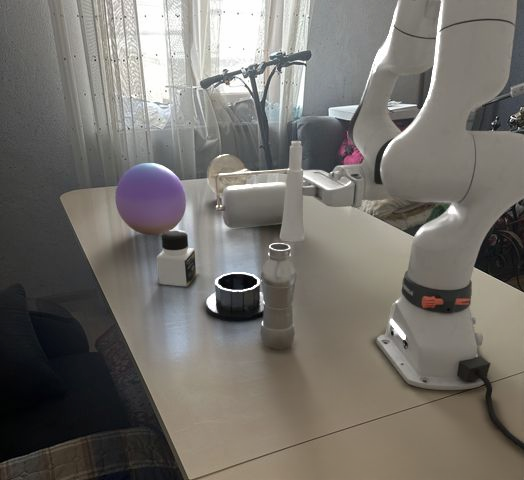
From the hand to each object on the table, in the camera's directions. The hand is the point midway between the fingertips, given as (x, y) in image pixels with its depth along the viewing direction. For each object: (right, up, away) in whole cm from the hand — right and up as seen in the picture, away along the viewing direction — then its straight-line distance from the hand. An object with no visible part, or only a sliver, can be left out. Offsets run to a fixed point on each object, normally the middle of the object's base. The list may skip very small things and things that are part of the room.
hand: (291, 189), depth 119 cm
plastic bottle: (-4, -36, -18) cm, 41 cm away
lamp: (-13, +9, +53) cm, 56 cm away
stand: (-12, -28, -5) cm, 30 cm away
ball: (-39, -3, +34) cm, 52 cm away
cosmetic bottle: (0, -10, +6) cm, 12 cm away
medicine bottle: (-27, -20, +7) cm, 35 cm away
